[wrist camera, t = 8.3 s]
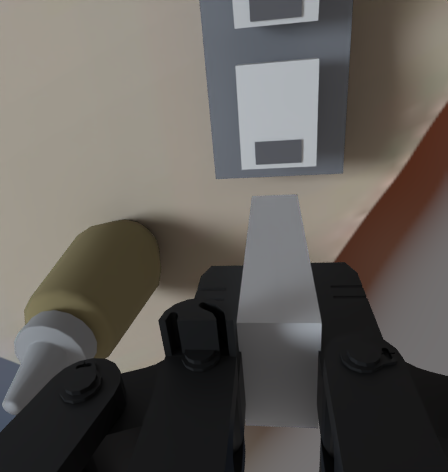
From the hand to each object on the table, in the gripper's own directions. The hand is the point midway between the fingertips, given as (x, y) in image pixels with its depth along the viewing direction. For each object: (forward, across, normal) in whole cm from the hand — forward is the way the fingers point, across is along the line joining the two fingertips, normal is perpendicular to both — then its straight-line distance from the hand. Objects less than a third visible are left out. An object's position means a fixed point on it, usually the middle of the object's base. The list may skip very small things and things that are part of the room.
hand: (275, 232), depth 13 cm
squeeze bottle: (+19, -14, -10) cm, 25 cm away
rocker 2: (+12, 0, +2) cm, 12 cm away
